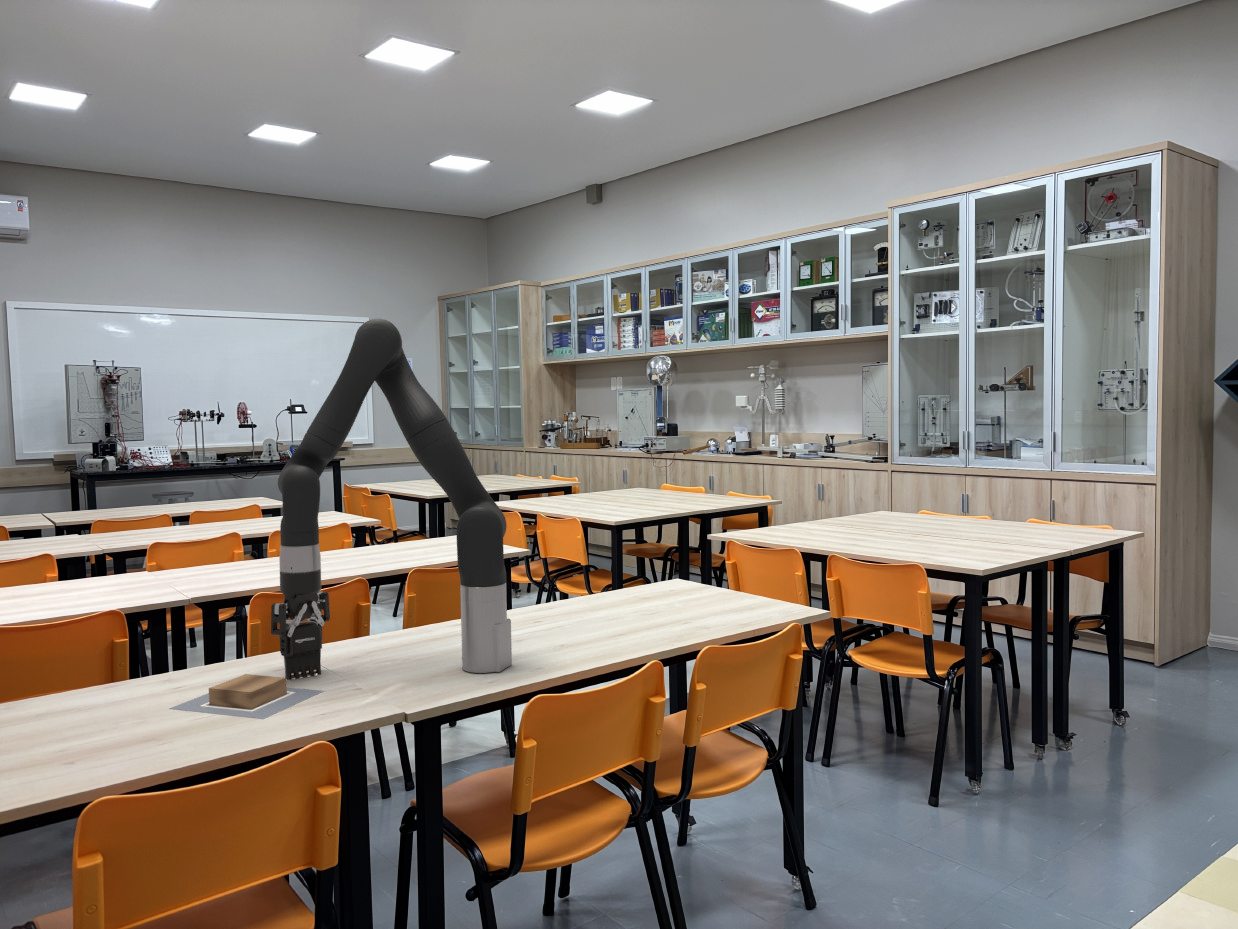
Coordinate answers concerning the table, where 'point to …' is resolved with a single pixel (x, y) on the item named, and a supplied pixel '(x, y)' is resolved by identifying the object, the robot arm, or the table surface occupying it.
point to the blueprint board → (259, 712)
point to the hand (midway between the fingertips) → (302, 650)
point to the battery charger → (304, 651)
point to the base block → (247, 691)
